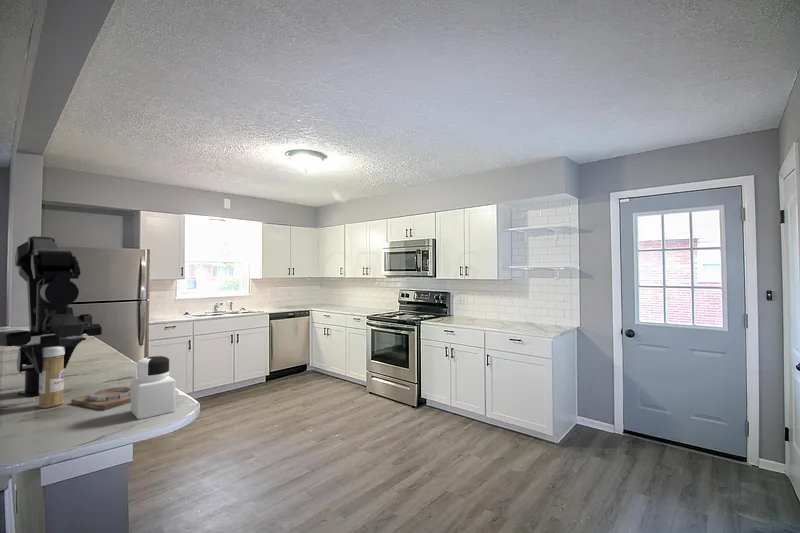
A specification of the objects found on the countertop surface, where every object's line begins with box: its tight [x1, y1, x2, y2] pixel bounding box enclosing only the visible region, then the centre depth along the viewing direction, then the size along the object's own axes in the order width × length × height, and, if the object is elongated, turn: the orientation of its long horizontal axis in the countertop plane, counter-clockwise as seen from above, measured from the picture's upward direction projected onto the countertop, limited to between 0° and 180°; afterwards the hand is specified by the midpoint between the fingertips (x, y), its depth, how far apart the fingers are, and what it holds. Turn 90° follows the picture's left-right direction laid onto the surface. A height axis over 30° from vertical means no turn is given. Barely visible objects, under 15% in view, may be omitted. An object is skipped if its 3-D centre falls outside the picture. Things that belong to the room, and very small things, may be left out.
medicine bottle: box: [130, 355, 176, 420], centre depth 88 cm, size 7×7×12 cm
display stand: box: [70, 385, 131, 411], centre depth 96 cm, size 12×11×2 cm
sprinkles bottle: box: [37, 346, 65, 409], centre depth 92 cm, size 5×5×14 cm
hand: (51, 370), depth 92 cm, fingers closed on sprinkles bottle, 4 cm apart
